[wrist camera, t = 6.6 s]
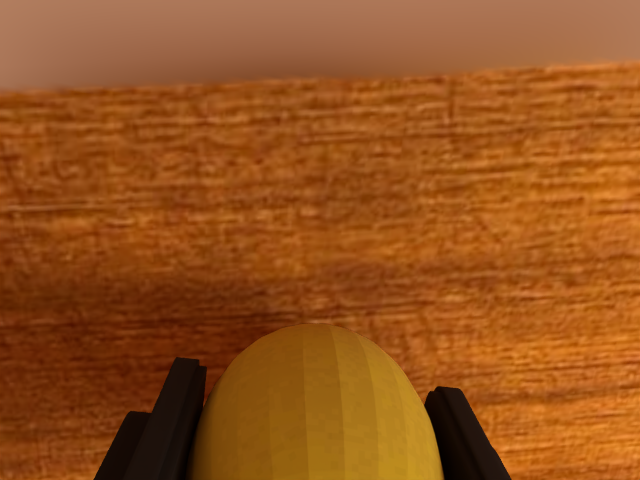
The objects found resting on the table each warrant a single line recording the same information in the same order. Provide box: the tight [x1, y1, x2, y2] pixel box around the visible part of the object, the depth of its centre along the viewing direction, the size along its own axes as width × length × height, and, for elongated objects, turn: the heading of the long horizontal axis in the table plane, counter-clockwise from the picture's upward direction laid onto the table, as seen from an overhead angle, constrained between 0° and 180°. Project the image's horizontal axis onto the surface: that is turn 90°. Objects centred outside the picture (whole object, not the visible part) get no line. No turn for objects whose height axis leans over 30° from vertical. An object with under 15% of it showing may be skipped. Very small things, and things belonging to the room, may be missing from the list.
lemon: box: [185, 323, 445, 480], centre depth 9 cm, size 6×6×8 cm
